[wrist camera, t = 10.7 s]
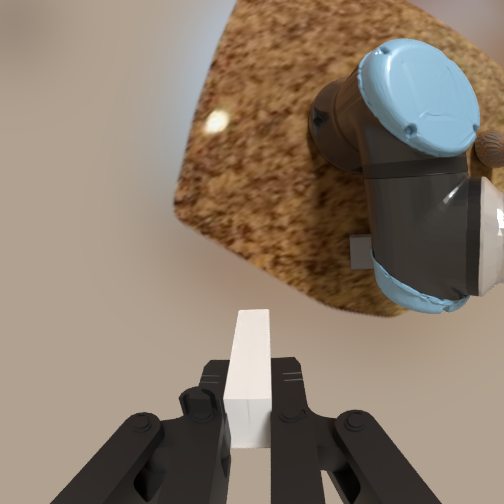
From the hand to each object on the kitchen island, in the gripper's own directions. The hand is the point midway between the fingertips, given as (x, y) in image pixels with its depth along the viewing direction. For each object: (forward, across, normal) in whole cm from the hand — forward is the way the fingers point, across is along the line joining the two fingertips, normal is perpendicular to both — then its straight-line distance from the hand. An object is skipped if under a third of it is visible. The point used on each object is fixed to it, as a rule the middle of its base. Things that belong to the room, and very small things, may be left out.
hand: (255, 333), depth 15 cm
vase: (+31, +42, +14) cm, 54 cm away
